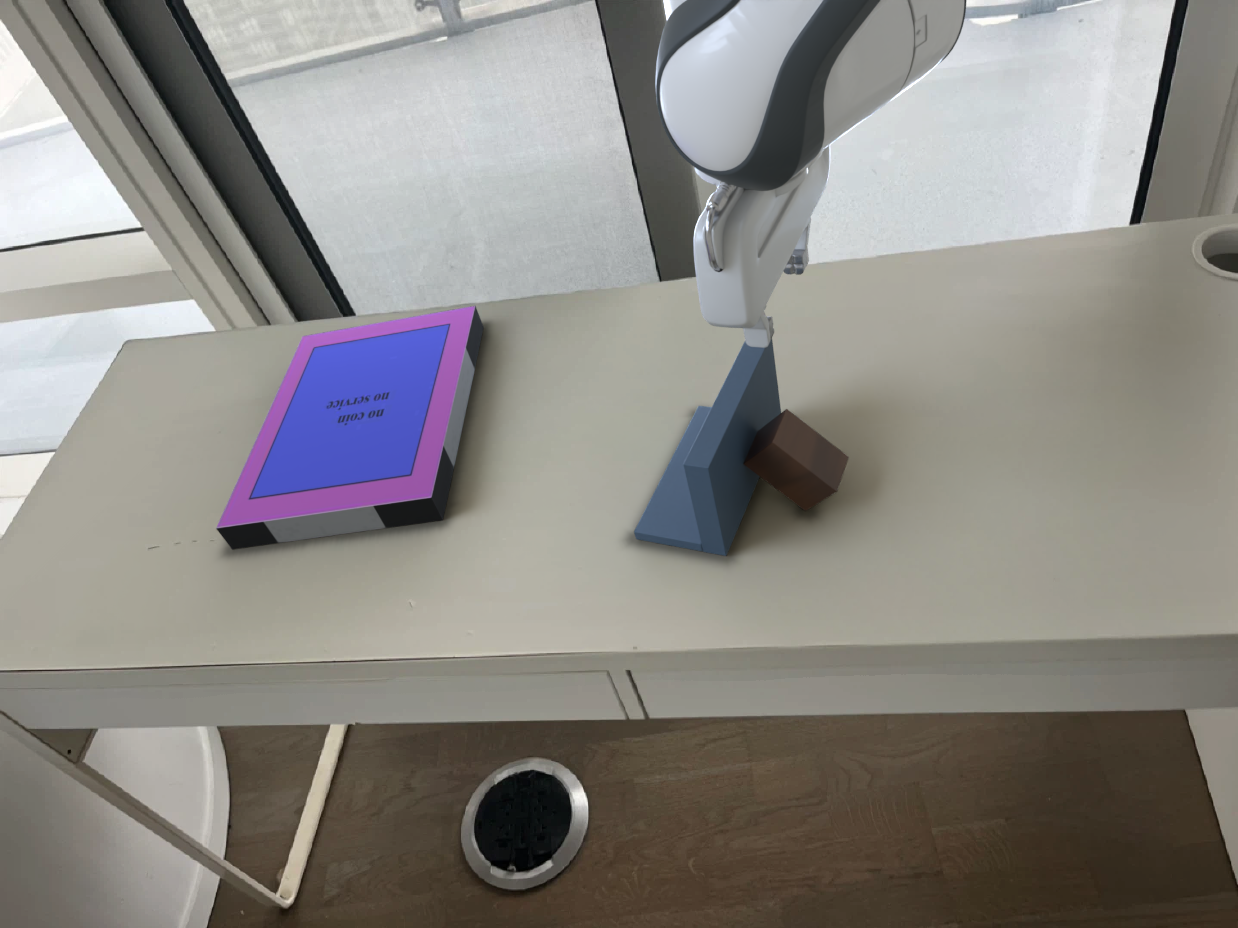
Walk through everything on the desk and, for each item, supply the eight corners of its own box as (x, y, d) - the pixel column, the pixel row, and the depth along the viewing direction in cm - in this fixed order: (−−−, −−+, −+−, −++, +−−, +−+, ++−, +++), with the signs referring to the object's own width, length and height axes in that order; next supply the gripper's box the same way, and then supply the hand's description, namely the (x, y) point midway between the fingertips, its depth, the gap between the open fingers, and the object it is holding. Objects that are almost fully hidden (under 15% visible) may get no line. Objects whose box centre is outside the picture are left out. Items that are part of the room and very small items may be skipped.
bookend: (782, 422, 83) (771, 333, 76) (726, 556, 73) (708, 468, 66) (700, 413, 86) (682, 326, 79) (635, 539, 76) (609, 453, 70)
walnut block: (851, 481, 76) (845, 413, 71) (839, 516, 73) (832, 449, 68) (764, 470, 79) (753, 405, 74) (751, 503, 77) (738, 438, 72)
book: (475, 305, 103) (431, 497, 81) (483, 327, 105) (442, 520, 83) (302, 335, 106) (216, 528, 84) (313, 356, 108) (232, 549, 86)
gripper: (753, 214, 53) (779, 394, 63) (839, 65, 66) (851, 234, 75) (655, 213, 56) (694, 387, 65) (756, 71, 69) (777, 233, 78)
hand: (779, 304), depth 70 cm, fingers open, 8 cm apart
